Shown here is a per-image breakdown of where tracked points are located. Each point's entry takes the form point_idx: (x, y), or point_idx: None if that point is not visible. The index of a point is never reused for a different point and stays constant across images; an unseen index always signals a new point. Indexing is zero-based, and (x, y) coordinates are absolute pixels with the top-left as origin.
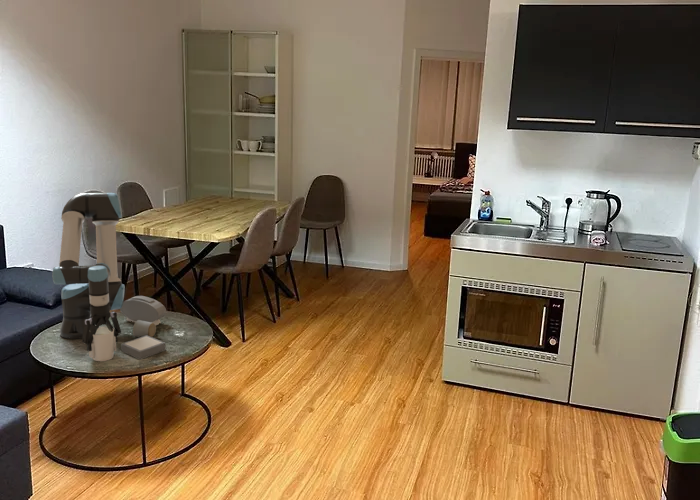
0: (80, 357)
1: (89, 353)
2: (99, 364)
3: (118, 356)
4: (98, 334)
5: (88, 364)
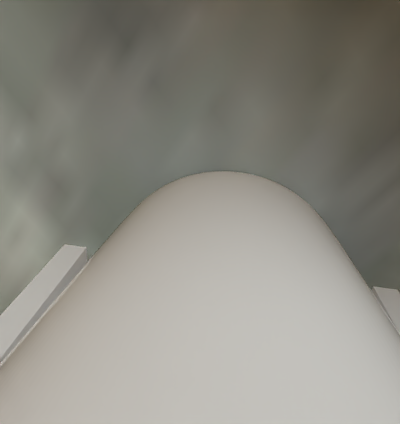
0: (51, 61)
1: (40, 279)
2: None
3: None
4: (349, 417)
5: (29, 282)
